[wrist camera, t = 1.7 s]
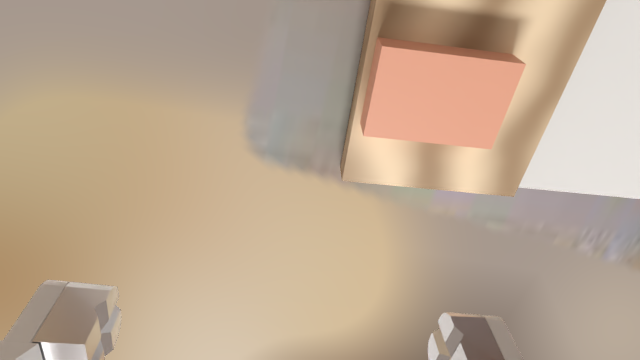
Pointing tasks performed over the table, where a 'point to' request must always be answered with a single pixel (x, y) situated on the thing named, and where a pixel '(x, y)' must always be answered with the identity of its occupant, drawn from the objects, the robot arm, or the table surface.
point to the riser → (480, 34)
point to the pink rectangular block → (438, 93)
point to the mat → (597, 115)
